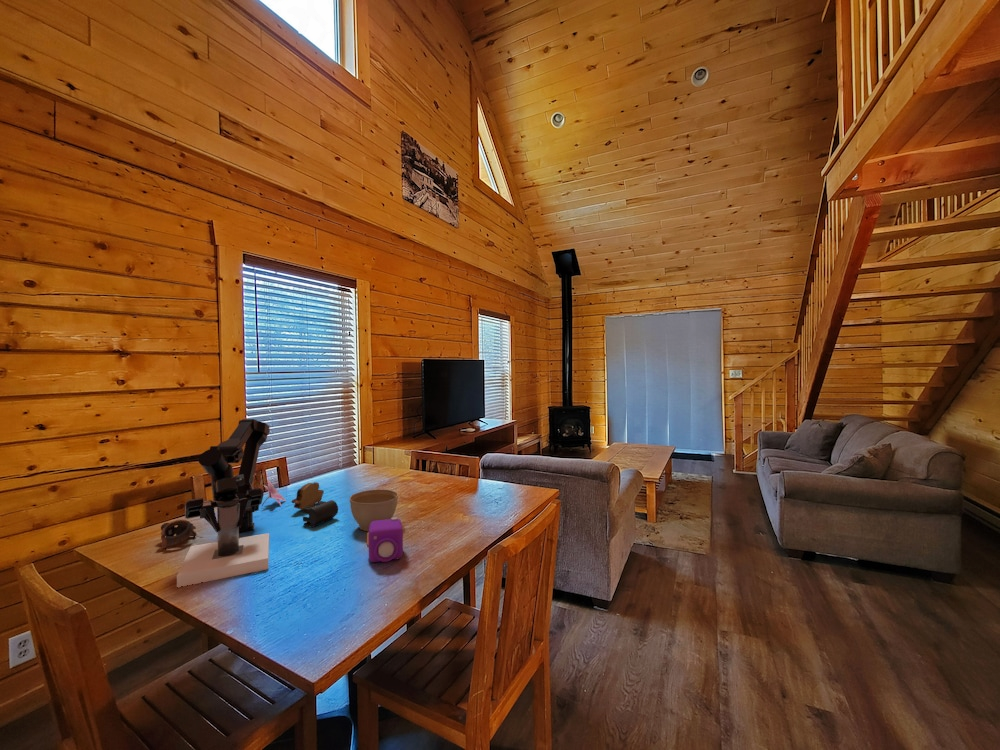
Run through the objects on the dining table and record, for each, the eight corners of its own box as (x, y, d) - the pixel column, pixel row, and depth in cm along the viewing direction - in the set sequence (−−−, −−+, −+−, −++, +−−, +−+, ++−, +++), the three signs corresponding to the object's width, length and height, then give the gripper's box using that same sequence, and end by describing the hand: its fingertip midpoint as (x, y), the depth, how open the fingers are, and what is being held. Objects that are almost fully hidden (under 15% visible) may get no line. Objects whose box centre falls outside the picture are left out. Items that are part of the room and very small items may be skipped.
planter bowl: (361, 540, 131) (361, 506, 131) (342, 526, 144) (342, 495, 144) (406, 527, 142) (406, 496, 142) (385, 515, 154) (385, 486, 154)
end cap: (317, 528, 141) (316, 509, 141) (301, 525, 144) (301, 506, 144) (338, 519, 151) (338, 500, 151) (323, 516, 153) (323, 498, 153)
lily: (267, 514, 159) (281, 491, 161) (243, 500, 161) (257, 478, 163) (285, 513, 170) (297, 492, 172) (263, 501, 173) (275, 479, 175)
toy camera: (371, 572, 111) (371, 535, 110) (363, 552, 123) (362, 519, 123) (411, 563, 116) (410, 528, 115) (399, 545, 128) (399, 513, 128)
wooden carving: (314, 501, 171) (314, 477, 171) (324, 501, 170) (324, 477, 170) (288, 515, 155) (288, 488, 155) (300, 515, 154) (299, 489, 154)
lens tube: (218, 550, 118) (217, 498, 117) (240, 546, 120) (239, 495, 120) (215, 558, 113) (215, 504, 113) (239, 554, 116) (238, 501, 115)
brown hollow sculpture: (206, 538, 135) (201, 521, 131) (179, 562, 127) (173, 545, 123) (176, 526, 137) (170, 509, 133) (148, 549, 129) (140, 532, 125)
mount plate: (191, 556, 120) (191, 546, 120) (269, 542, 130) (269, 532, 130) (176, 587, 103) (176, 575, 103) (268, 568, 113) (268, 558, 113)
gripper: (185, 471, 113) (188, 522, 105) (261, 461, 125) (270, 506, 117) (183, 493, 119) (186, 543, 111) (257, 481, 131) (264, 526, 123)
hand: (228, 529), depth 115 cm, fingers closed on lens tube, 5 cm apart
